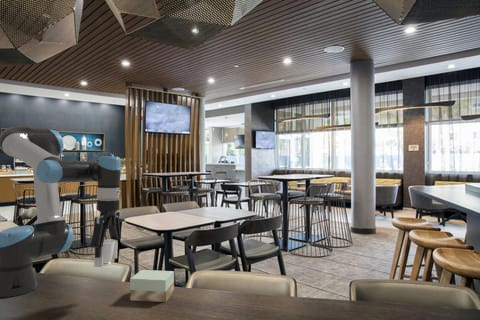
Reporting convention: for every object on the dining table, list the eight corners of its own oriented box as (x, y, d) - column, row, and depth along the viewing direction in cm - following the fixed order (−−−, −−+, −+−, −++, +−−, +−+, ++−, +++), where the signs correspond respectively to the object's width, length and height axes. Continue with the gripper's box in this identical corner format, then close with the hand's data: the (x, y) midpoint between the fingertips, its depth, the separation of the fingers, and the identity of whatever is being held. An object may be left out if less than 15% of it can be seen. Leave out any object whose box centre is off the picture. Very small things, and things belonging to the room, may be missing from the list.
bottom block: (130, 301, 116) (130, 290, 116) (140, 290, 126) (140, 280, 126) (166, 303, 115) (166, 291, 115) (173, 292, 125) (174, 281, 125)
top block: (130, 289, 116) (130, 278, 116) (141, 280, 126) (141, 269, 126) (165, 291, 115) (165, 280, 115) (174, 281, 125) (174, 271, 125)
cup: (89, 267, 111) (90, 243, 111) (102, 258, 121) (103, 236, 121) (110, 267, 111) (110, 243, 111) (121, 259, 121) (122, 237, 121)
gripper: (102, 203, 105) (100, 272, 105) (131, 196, 127) (129, 254, 127) (80, 202, 106) (77, 271, 105) (113, 196, 128) (111, 253, 127)
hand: (106, 262), depth 116 cm, fingers closed on cup, 10 cm apart
